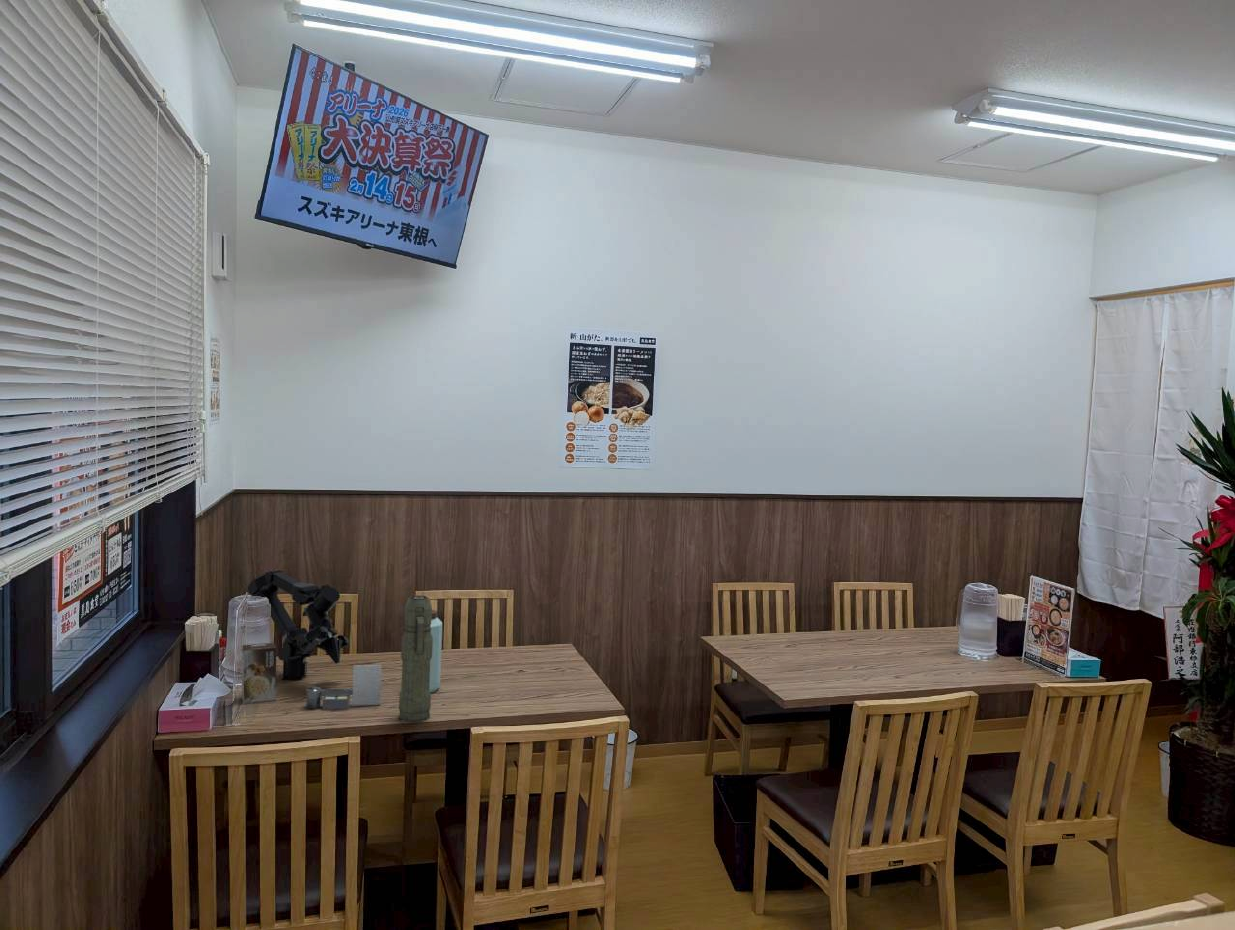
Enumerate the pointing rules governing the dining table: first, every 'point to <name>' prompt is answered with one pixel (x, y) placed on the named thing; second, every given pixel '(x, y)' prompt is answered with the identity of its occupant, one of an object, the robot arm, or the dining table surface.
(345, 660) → the dining table surface
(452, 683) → the dining table surface
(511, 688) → the dining table surface
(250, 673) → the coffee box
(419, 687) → the thermos
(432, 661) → the water bottle
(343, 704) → the block
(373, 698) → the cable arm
